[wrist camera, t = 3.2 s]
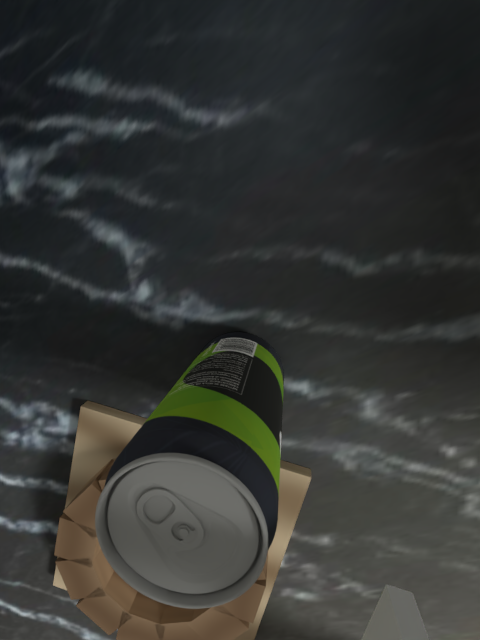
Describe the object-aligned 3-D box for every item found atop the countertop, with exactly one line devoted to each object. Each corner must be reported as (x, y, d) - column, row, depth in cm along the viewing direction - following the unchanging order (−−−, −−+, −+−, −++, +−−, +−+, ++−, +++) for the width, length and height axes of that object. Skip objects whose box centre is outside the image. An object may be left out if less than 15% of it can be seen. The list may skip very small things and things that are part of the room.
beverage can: (182, 370, 26) (51, 527, 12) (238, 311, 25) (167, 409, 10) (242, 426, 27) (187, 645, 12) (302, 371, 25) (319, 548, 11)
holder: (87, 400, 28) (55, 426, 24) (310, 469, 27) (314, 507, 23) (60, 575, 33) (29, 620, 29) (250, 641, 31) (244, 698, 27)
